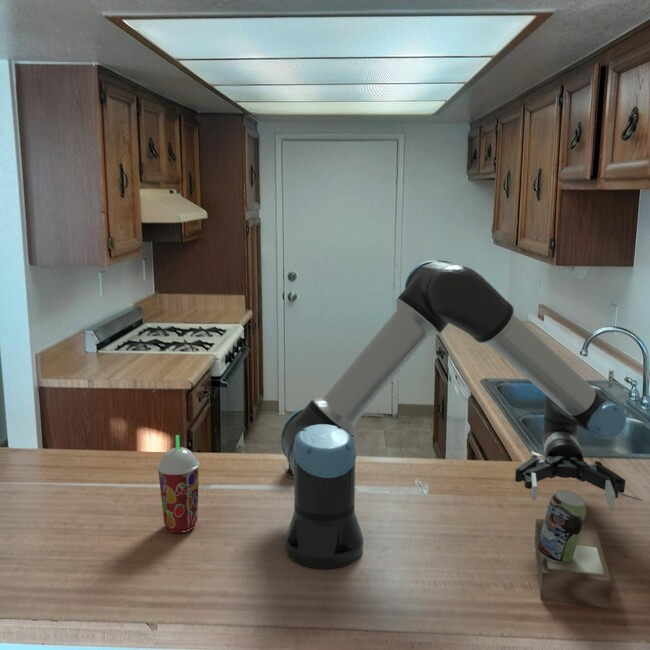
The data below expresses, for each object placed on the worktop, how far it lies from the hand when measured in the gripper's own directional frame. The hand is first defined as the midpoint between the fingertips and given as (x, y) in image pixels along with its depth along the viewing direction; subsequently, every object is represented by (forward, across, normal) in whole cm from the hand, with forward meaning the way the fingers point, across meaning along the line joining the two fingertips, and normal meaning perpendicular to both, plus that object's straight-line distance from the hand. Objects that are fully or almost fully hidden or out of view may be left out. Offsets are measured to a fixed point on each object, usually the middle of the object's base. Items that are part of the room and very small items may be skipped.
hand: (573, 497), depth 124 cm
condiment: (-28, +61, -13) cm, 68 cm away
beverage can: (+8, +3, -8) cm, 12 cm away
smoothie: (+6, +77, -13) cm, 78 cm away
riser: (+4, 0, -13) cm, 14 cm away
